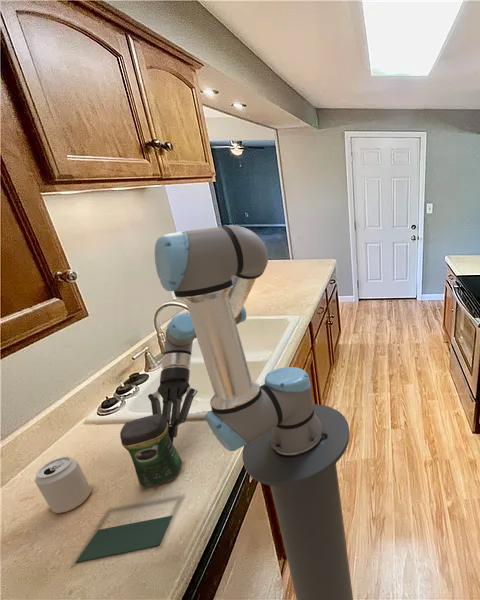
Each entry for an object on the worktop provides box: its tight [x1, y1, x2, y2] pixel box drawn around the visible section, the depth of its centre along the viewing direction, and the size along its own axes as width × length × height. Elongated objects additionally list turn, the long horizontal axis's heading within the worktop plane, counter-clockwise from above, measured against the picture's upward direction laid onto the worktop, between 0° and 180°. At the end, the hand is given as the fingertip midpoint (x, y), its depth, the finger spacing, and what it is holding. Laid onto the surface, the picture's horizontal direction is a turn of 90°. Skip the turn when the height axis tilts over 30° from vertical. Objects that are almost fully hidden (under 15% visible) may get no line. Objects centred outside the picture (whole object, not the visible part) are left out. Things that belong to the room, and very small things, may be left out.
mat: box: [75, 514, 174, 564], centre depth 77 cm, size 16×12×1 cm
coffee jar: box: [119, 414, 183, 488], centre depth 87 cm, size 10×8×19 cm
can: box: [34, 455, 92, 514], centre depth 81 cm, size 8×8×12 cm
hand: (166, 450), depth 94 cm, fingers closed
